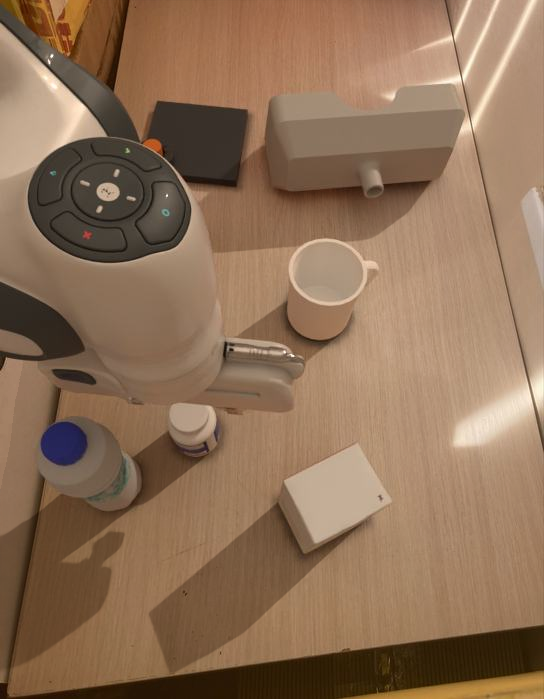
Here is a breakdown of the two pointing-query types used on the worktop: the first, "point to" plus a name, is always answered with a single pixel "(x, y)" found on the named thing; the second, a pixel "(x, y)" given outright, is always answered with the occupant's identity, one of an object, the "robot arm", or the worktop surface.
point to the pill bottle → (193, 428)
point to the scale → (201, 140)
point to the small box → (331, 497)
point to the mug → (325, 287)
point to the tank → (361, 139)
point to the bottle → (87, 463)
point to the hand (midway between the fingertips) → (187, 401)
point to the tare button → (154, 146)
